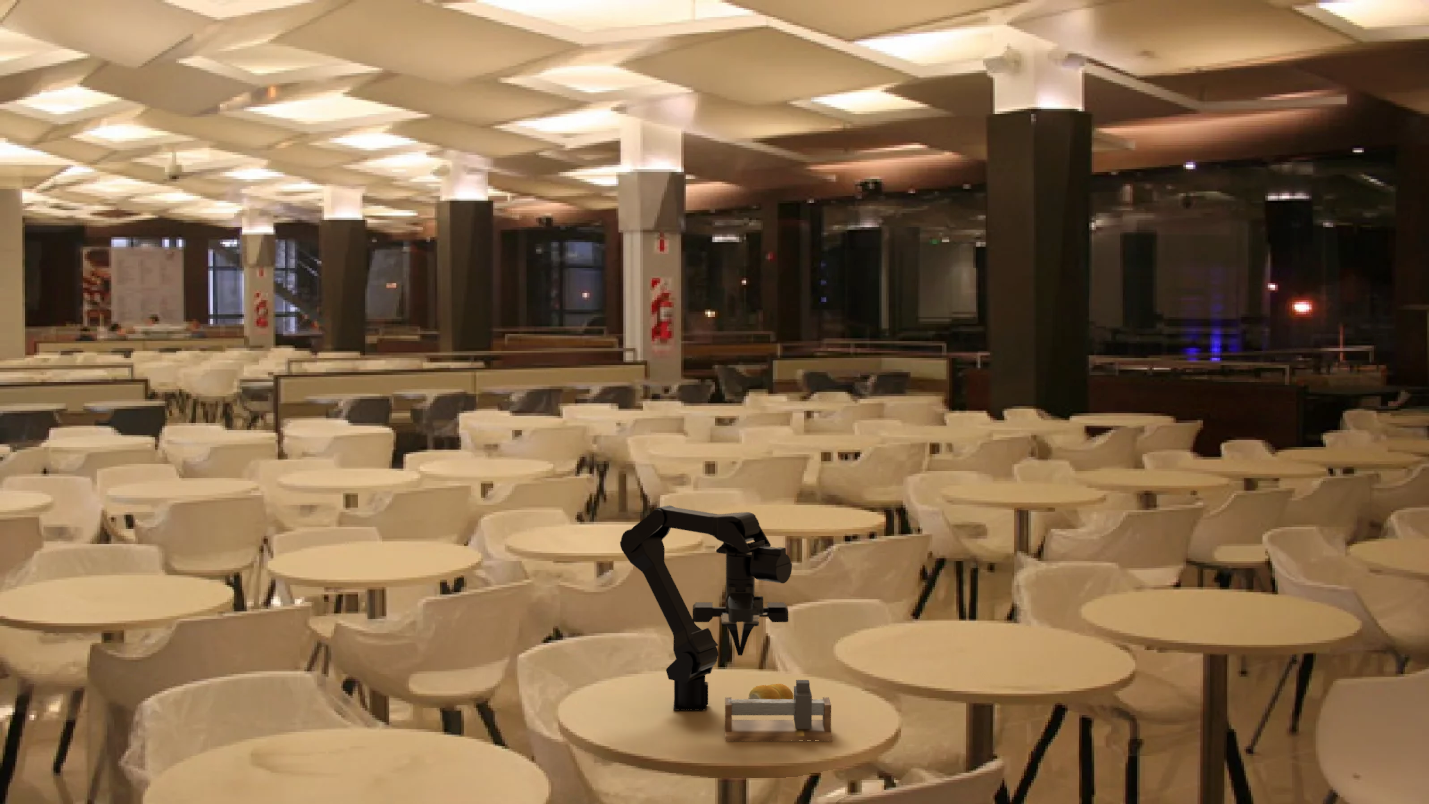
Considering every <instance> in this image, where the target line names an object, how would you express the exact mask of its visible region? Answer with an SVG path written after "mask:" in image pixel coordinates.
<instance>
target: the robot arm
mask: <svg viewBox="0 0 1429 804" xmlns="http://www.w3.org/2000/svg"><path fill="white" fill-rule="evenodd" d="M671 529H676V530H681V531H688V532H694V533H699V534H705V535H708V536H712V537H713V538H715V539H716V540H718V541H719V542H723V543H722V544H721V545H720V546H719V547H718V548H717V549H716V550H715V551H716V553H718V554H723V555H725V606H717V607H716V606H713V602H705V601H703V602H701V601H700V602H696V601H695V602H694V604H693V605H692V615H691V613H690V611H689V609H688V607H687V606H686V603H685V601H684V599H683V597H682V595H681V593H680V591H679V589H678V587H677V585H676V582H675V581H674V579H673V576H672V574H671V573H670V570H669V569H668V567H667V565H666V561H665V545H664V543H663V540H664V539H665V538H666V537H667V536H668V534H670V531H671ZM751 541H752V542H751ZM619 544H620V549H621V551H622V553H623V554H624V555H625V557H626V558H627V560H628V561H629V563H630V564H632V565H633V566H634V567H635V568H636V569H638V570H639V571H640V572H641V573H642V574H643V576H644V578H645V580H646V582H647V584H648V586H649V588H650V590H651V592H652V594H653V596H654V599H655V601H656V602H657V604H658V607H659V608H660V611H661V613H662V615H663V617H664V619H665V621H666V622H667V625H668V627H669V629H670V630H671V633H672V635H673V636H672V637H673V643H672V644H673V648H672V649H673V654H674V656H675V660H674V661H672V662H671V663H670V664H669V665H668V667H667V668H665V671H666V675H667V678H668V680H671V681H674V682H673V688H674V689H673V693H674V694H673V697H674V698H673V706H672V707H673V708H672V709H673V711H706V707H707V706H708V705H709V682H708V681H706V676H707V675H710V674H712V671H713V667H714V666H715V665H716V664H717V661H718V659H719V650H718V648H717V647H718V646H719V644H718V642H716V641H715V638H714V637H713V634H712V631H711V630H710V628H709V627H707V628H703V629H702V628H700V627H699V626H698V625H697V624H696V623H710V621H712V619H713V617H714V618H715V617H716V618H720V619H721V626H722V627H727V629H728V631H729V632H730V634H731V638H732V640H733V643H734V646H735V649H736V653H737V656H741V657H742V656H743V654H744V651H745V648H746V645H747V641H748V638H749V637H750V634H751V632H752V630H753V629H754V627H759V626H760V621H759V620H760V617H761V618H768V620H770V621H771V622H772V623H788V622H789V608H788V605H787V604H786V603H785V601H783V602H777V601H776V602H775V601H773V602H771V601H770V602H769V601H768V602H767V603H766V604H767V605H766V606H764V596H757V595H756V594H755V593H756V591H755V590H756V589H755V587H756V585H755V584H756V582H755V581H757V580H758V581H763V582H771V583H777V584H785V583H787V582H788V581H789V579H790V577H791V575H792V570H793V563H792V561H791V558H790V556H789V555H788V554H787V549H786V548H785V547H781V546H780V547H779V546H778V547H774V546H772V545H771V542H770V541H769V539H768V538H767V536H766V534H765V532H764V531H763V529H762V528H761V526H760V523H759V519H758V518H757V517H756V515H755V514H754V513H752V512H750V511H749V512H748V511H741V512H740V511H739V512H731V513H713V512H707V511H706V512H705V511H699V510H695V509H689V508H688V509H687V508H682V507H675V506H674V505H673V506H672V505H664V506H659V507H656V508H654V509H653V510H652V511H651V512H650V513H649V514H648V515H647V516H646V517H645V518H643V519H642V520H641V521H639V522H638V523H637V524H635V525H634V526H633V527H632V528H630V529H627V530H625V531H624V532H623V534H622V535H621V539H620V541H619ZM738 623H742V625H741V626H742V627H741V635H740V636H739V629H738V628H739V627H738ZM739 637H740V638H739Z"/></svg>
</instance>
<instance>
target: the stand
mask: <svg viewBox="0 0 1429 804" xmlns="http://www.w3.org/2000/svg"><path fill="white" fill-rule="evenodd" d="M728 699H732V697H731V696H730V697H729V696H728V697H727V696H726V697H724V731H725V732H724V736H725V739H724V740H725V742H800V741H799V740H803V741H802V742H808V741H807V740H811V741H810V742H816V741H815V740H819V741H818V742H833V735H832V704H831V699H830V697H828V696H827V697H825V696H824V697H822V699H823V700H824V701H825V702H824V715H822V719H812V729H796V728H795V723H794V718H793V719H733V718H732V717H733V715H732V703H729V702H728V701H729V700H728ZM826 701H827V703H826ZM791 740H792V741H791Z"/></svg>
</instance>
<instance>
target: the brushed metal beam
mask: <svg viewBox="0 0 1429 804" xmlns="http://www.w3.org/2000/svg"><path fill="white" fill-rule="evenodd" d="M728 700H729V701H728V702H729V703H732V716H794V715H795V701H796V700H795V699H794V698H793V699H749V698H748V699H747V698H746V699H745V698H744V699H739V698H738V699H737V698H735V699H734V698H733V699H732V698H731V699H728ZM824 702H825V701H824V700H823V698H821V699H818V698H812V716H823V715H824ZM826 703H827V701H826Z"/></svg>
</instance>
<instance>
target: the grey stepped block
mask: <svg viewBox="0 0 1429 804" xmlns="http://www.w3.org/2000/svg"><path fill="white" fill-rule="evenodd" d="M810 683H811V682H810V680H809V679H796V680H795V685H794V686H793V699H795V700H796V701H795V715H793V719H794V723H795V728H796V729H812V720H813V719H812V718H813V717H812V716H813V715H812V699H813V695H812V691H811V685H810Z"/></svg>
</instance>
